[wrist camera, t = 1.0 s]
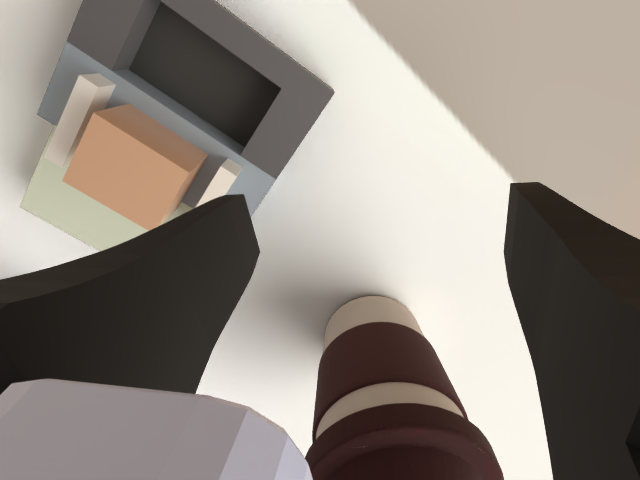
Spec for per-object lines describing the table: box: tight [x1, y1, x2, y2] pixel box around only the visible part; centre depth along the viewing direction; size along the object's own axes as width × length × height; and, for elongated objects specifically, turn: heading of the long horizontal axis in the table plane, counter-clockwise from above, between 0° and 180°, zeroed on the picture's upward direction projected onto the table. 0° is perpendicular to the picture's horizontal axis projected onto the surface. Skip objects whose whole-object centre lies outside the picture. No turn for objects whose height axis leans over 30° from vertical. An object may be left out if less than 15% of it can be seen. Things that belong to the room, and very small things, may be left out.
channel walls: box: [44, 73, 243, 208], centre depth 23 cm, size 5×9×2 cm, turn 55°
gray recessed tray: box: [37, 0, 335, 217], centre depth 24 cm, size 10×13×2 cm
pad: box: [20, 125, 192, 251], centre depth 27 cm, size 6×11×2 cm, turn 55°
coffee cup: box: [305, 296, 504, 480], centre depth 25 cm, size 10×10×15 cm
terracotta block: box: [62, 104, 209, 231], centre depth 22 cm, size 4×5×4 cm
